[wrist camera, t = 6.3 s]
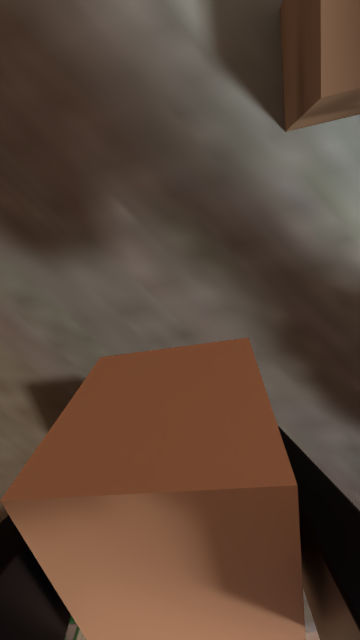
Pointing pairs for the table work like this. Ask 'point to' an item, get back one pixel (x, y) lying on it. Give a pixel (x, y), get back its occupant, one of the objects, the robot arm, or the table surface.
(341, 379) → the table surface
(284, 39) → the walnut cube
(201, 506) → the terracotta cube
